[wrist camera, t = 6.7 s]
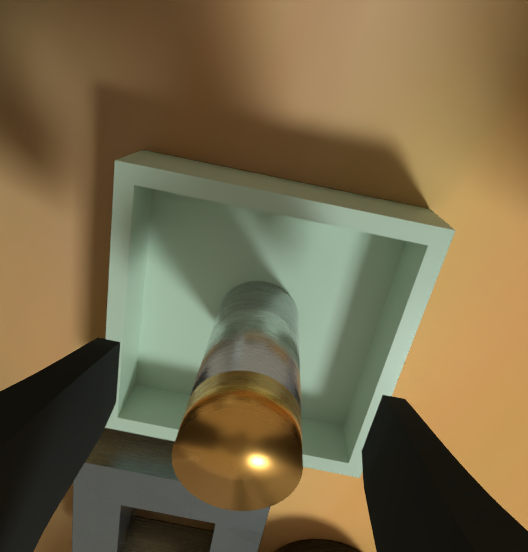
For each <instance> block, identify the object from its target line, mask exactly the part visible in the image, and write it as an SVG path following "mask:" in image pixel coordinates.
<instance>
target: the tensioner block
mask: <svg viewBox="0 0 528 552" xmlns="http://www.w3.org/2000/svg"><path fill="white" fill-rule="evenodd" d="M174 443H175V441H170V440H165V439H160V438H155V437H150V436H145V435H140V434H135V433H130V432H125V431H120V430H115V429H110V428H104V431H103V433H102V435H101V437H100V438H99V440H98V442H97V443H96V445H95V447H94V448H93V450H92V452H91V453H90V455H89V457H88V458H87V460H86V462H85V463H84V465H83V466H82V468H81V470H80V471H79V473H78V475H77V476H76V478H75V479H74V481H73V529H72V552H258V548H259V545H260V541H261V538H262V534H263V530H264V527H265V523H266V520H267V516H268V513H269V509H270V507H267V508H263V509H259V510H252V511H234V510H227V509H222V508H218V507H215V506H212V505H210V504H207V503H205V502H203V501H201V500H200V499H198V498H197V497H195V496H194V495H192V494H191V493H190V492H189V491H188V490H187V489H186V488H185V487H184V486H183V485H182V484H181V482H180V481H179V480H178V478H177V476H176V474H175V472H174V469H173V465H172V449H173V446H174ZM135 508H138V509H143V510H148V511H153V512H159V513H164V514H169V515H174V516H179V517H184V518H189V519H195V520H200V521H205V522H210V523H214V527H213V532H212V531H207V530H202V529H197V528H191V527H186V526H181V525H176V524H171V523H166V522H161V521H155V520H150V519H145V518H140V517H135ZM276 552H360V551H358V550H356V549H355V548H353V547H350V546H348V545H345V544H343V543H339V542H335V541H329V540H305V541H299V542H295V543H292V544H289V545H286V546H284V547H282V548H280V549H279V550H277V551H276Z"/></svg>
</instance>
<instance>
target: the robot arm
mask: <svg viewBox="0 0 528 552" xmlns="http://www.w3.org/2000/svg"><path fill="white" fill-rule="evenodd" d="M119 354H120V342H117V341H112V340H107V339H102V338H97V339H95V340H93V341H91V342H89V343H88V344H86V345H84V346H82V347H81V348H79V349H77V350H76V351H74V352H72V353H71V354H69V355H67V356H66V357H64V358H62V359H60V360H59V361H57V362H55V363H53V364H51V365H50V366H48V367H46V368H44V369H43V370H41V371H39V372H37V373H36V374H34V375H32V376H30V377H28V378H26V379H24V380H22V381H20V382H18V383H16V384H14V385H12V386H10V387H8V388H6V389H4V390H2V391H0V552H33V551H34V549H35V547H36V545H37V543H38V541H39V539H40V537H41V535H42V533H43V531H44V529H45V528H46V526H47V524H48V522H49V521H50V519H51V517H52V515H53V513H54V512H55V510H56V509H57V507H58V505H59V504H60V502H61V500H62V499H63V497H64V496H65V494H66V492H67V491H68V489H69V487H70V486H71V484H72V483H73V481H74V479H75V478H76V476H77V475H78V473H79V471H80V470H81V468H82V466H83V465H84V463H85V462H86V460H87V458H88V457H89V455H90V453H91V452H92V450H93V448H94V447H95V445H96V443H97V442H98V440H99V438H100V437H101V435H102V433H103V431H104V428H105V426H106V424H107V422H108V420H109V418H110V415H111V413H112V411H113V409H114V406H115V404H116V398H117V383H118V369H119ZM362 467H363V480H364V490H365V495H366V500H367V505H368V511H369V516H370V521H371V526H372V530H373V535H374V540H375V545H376V550H377V552H528V531H527V530H526V529H525V528H524V527H523V526H522V525H521V524H519V523H518V522H517V521H516V520H515V519H514V518H513V517H512V516H511V515H510V514H509V513H508V512H507V511H505V510H504V509H503V508H502V507H501V506H500V505H499V504H498V503H497V502H496V501H495V500H494V499H493V498H492V497H491V496H490V495H489V494H488V493H487V492H486V491H485V490H484V489H483V488H482V486H481V485H480V484H479V483H478V482H477V481H476V480H475V479H474V478H473V477H472V476H471V475H470V474H469V473H468V472H467V471H466V469H465V468H464V467H463V466H462V465H461V464H460V463H459V462H458V461H457V459H456V458H455V457H454V456H453V455H452V454H451V453H450V451H449V450H448V449H447V448H446V447H445V446H444V444H443V443H442V442H441V441H440V440H439V439H438V437H437V436H436V435H435V434H434V433H433V431H432V430H431V429H430V428H429V427H428V425H427V424H426V423H425V422H424V421H423V419H422V418H421V417H420V416H419V415H418V413H417V412H416V411H415V410H414V409H413V408H412V406H411V405H410V404H409V403H408V402H407V401H406V400H405V399H402V398H397V397H392V396H387V395H382V398H381V401H380V403H379V406H378V409H377V411H376V414H375V417H374V419H373V422H372V425H371V427H370V430H369V433H368V435H367V438H366V441H365V443H364V446H363V449H362Z"/></svg>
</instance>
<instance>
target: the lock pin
mask: <svg viewBox="0 0 528 552" xmlns="http://www.w3.org/2000/svg"><path fill="white" fill-rule="evenodd" d="M172 465H173V469H174V472H175V474H176V476H177V478H178V480H179V481H180V482H181V484H182V485H183V486H184V487H185V488H186V489H187V490H188V491H189V492H190V493H191V494H192V495H194V496H195V497H197V498H198V499H200V500H201V501H203V502H205V503H207V504H210V505H212V506H215V507H218V508H222V509H227V510H234V511H252V510H259V509H263V508H267V507H270V506H272V505H275V504H277V503H279V502H280V501H282V500H284V499H285V498H286V497H288V496H289V495H290V494H291V493H292V492H293V491H294V489H295V488H296V487H297V485H298V483H299V481H300V479H301V475H302V470H303V455H302V421H301V387H300V353H299V319H298V310H297V307H296V304H295V302H294V300H293V299H292V297H291V296H290V295H289V294H288V293H287V292H286V291H285V290H284V289H282V288H281V287H279V286H277V285H275V284H272V283H269V282H265V281H250V282H246V283H242V284H240V285H238V286H236V287H234V288H233V289H232V290H230V291H229V292H228V293H227V294H226V296H225V297H224V299H223V301H222V303H221V306H220V309H219V312H218V315H217V318H216V321H215V324H214V327H213V330H212V333H211V336H210V338H209V341H208V344H207V347H206V350H205V353H204V356H203V359H202V362H201V365H200V368H199V371H198V374H197V377H196V380H195V383H194V386H193V389H192V392H191V395H190V398H189V401H188V404H187V407H186V410H185V413H184V416H183V419H182V422H181V425H180V428H179V431H178V434H177V437H176V440H175V443H174V446H173V449H172Z"/></svg>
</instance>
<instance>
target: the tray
mask: <svg viewBox="0 0 528 552" xmlns="http://www.w3.org/2000/svg"><path fill="white" fill-rule="evenodd" d="M454 233H455V230H454V229H453V228H452V227H451V226H450V225H448V224H447V223H446V222H445V221H444V220H443V219H441V218H440V217H439V216H438V215H437V214H435V213H434V212H433V211H432V210H431V209H427V208H422V207H417V206H412V205H408V204H403V203H398V202H393V201H388V200H383V199H379V198H374V197H369V196H364V195H359V194H354V193H350V192H345V191H340V190H335V189H330V188H325V187H321V186H316V185H311V184H306V183H301V182H296V181H292V180H287V179H282V178H277V177H272V176H267V175H263V174H258V173H253V172H248V171H243V170H238V169H234V168H229V167H224V166H219V165H214V164H209V163H205V162H200V161H195V160H190V159H185V158H180V157H176V156H171V155H166V154H161V153H156V152H151V151H147V150H141V151H138V152H136V153H133V154H130V155H128V156H125V157H122V158H119V159H117V160H115V167H114V186H113V205H112V224H111V243H110V263H109V282H108V301H107V320H106V339H107V340H112V341H117V342H120V354H119V369H118V383H117V398H116V404H115V406H114V409H113V411H112V413H111V415H110V418H109V420H108V422H107V424H106V426H105V428H110V429H115V430H120V431H125V432H130V433H135V434H140V435H145V436H150V437H155V438H160V439H165V440H170V441H175V440H176V437H177V434H178V431H179V428H180V425H181V422H182V419H183V416H184V413H185V410H186V407H187V404H188V401H189V398H190V395H191V392H192V389H193V386H194V383H195V380H196V377H197V374H198V371H199V368H200V365H201V362H202V359H203V356H204V353H205V350H206V347H207V344H208V341H209V338H210V336H211V333H212V330H213V327H214V324H215V321H216V318H217V315H218V312H219V309H220V306H221V303H222V301H223V299H224V297H225V296H226V294H227V293H228V292H229V291H230V290H232V289H233V288H234V287H236V286H238V285H240V284H242V283H246V282H250V281H265V282H269V283H272V284H275V285H277V286H279V287H281V288H282V289H284V290H285V291H286V292H287V293H288V294H289V295H290V296H291V297H292V299H293V300H294V302H295V304H296V307H297V310H298V319H299V353H300V387H301V421H302V455H303V467H307V468H312V469H317V470H323V471H328V472H333V473H338V474H343V475H348V476H353V477H358V478H360V476H361V474H362V471H363V467H362V449H363V446H364V443H365V441H366V438H367V435H368V433H369V430H370V427H371V425H372V422H373V419H374V417H375V414H376V411H377V409H378V406H379V403H380V401H381V398H382V395H387V396H392V393H393V391H394V388H395V386H396V383H397V380H398V378H399V375H400V373H401V370H402V367H403V365H404V362H405V360H406V357H407V354H408V352H409V349H410V347H411V344H412V342H413V339H414V336H415V334H416V331H417V329H418V326H419V323H420V321H421V318H422V316H423V313H424V310H425V308H426V305H427V303H428V300H429V298H430V295H431V292H432V290H433V287H434V285H435V282H436V279H437V277H438V274H439V272H440V269H441V266H442V264H443V261H444V259H445V256H446V253H447V251H448V248H449V246H450V243H451V241H452V238H453V235H454Z"/></svg>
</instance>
